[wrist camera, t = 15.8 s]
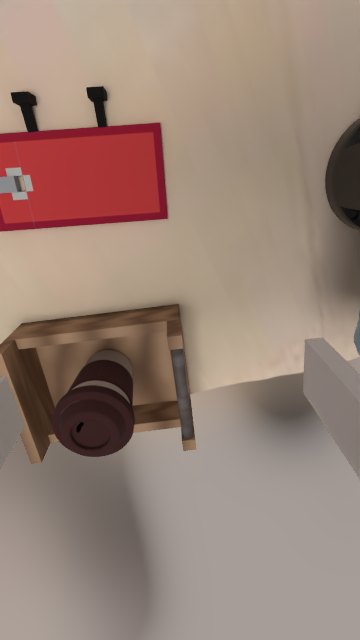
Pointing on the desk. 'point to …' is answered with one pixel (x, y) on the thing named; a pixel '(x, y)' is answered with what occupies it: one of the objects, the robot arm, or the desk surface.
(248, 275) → the desk surface
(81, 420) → the coffee cup
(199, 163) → the desk surface
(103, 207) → the red board with handle
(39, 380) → the wooden crate
